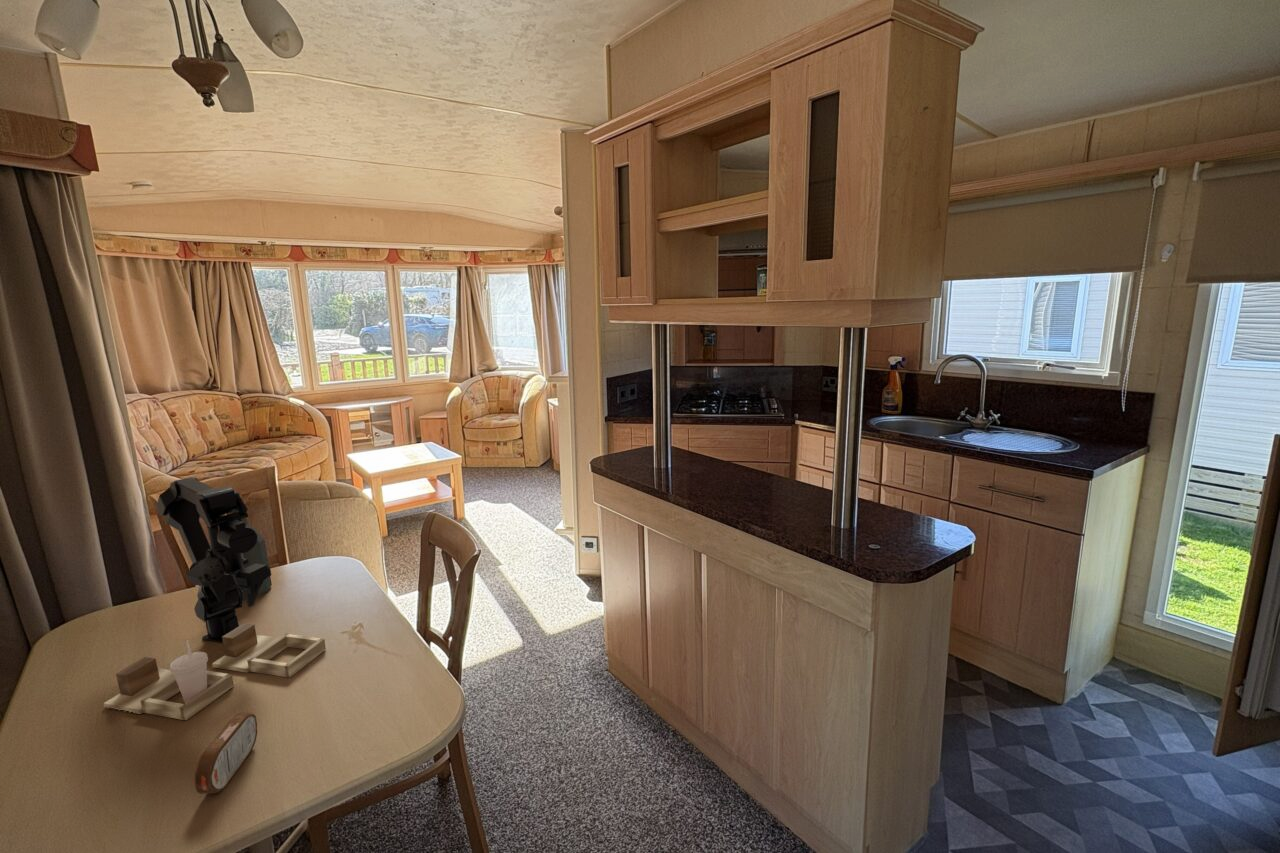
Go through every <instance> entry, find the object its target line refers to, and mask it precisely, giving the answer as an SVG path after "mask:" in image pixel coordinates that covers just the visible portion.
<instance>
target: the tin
mask: <svg viewBox="0 0 1280 853" xmlns="http://www.w3.org/2000/svg"><path fill="white" fill-rule="evenodd" d="M257 736H258V721H257V716H256V715H255V714H254V713H251V712H249V713H247V712H244V713H243V712H236V713H235V714H233V715H232V716H231V717H230V718H229V719H228V720H227V722H226V723H225V724H224V725H223V726H222V728H221V729H220V730H219V731H218V732H217V734H216V735H214V737H213V738H212V739H211V740H210V741H209V742H208V743H207V745H206V746H205V748H204V749H203V751H202V753H201V754H200V756H199V759H198V761H197V764H196V768H195V772H194V782H193V783H194V788H195V791H196V793H198V794H199V795H204V794H216V793H220V792H221V791H222V790H224V789H225V787H226V786H228V784H229V783H230V781H231V780H232V779H233V777H234V776H235V774H236V773H237V772H238V771H239V770H240V768H241V767H242V766H243V764H244V762H245V761H246V760H247V758H249V756H250V754H251V753H252V751H253V748H254V747H255V744H256V741H257Z"/></svg>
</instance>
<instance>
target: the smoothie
mask: <svg viewBox="0 0 1280 853" xmlns="http://www.w3.org/2000/svg"><path fill="white" fill-rule="evenodd" d="M184 642H185V646H186V651H187V653H186V654H184V655H181V656H179V657H177V658H176V659H174V660H173V661H171V663H170V664H169V670H170V672H171V673H173V674H174V677H175V679H176V682H177V684H178V687H179V689H180V691H179V692H180V694H181V695H182V699H183V701H184V704H185V703H187V702H188V701H190V700H191V699H193V698H194V697H196V696H197V695H198V694H200V693H201V692H203V691H204V690H206V689H207V688H208V685H207V671H208V669H207V668H208V666H207V663H208V661H209V657H208V653H206V652H204V651H194V652H192V649H191V644H190V641H189V639H185V641H184Z"/></svg>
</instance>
